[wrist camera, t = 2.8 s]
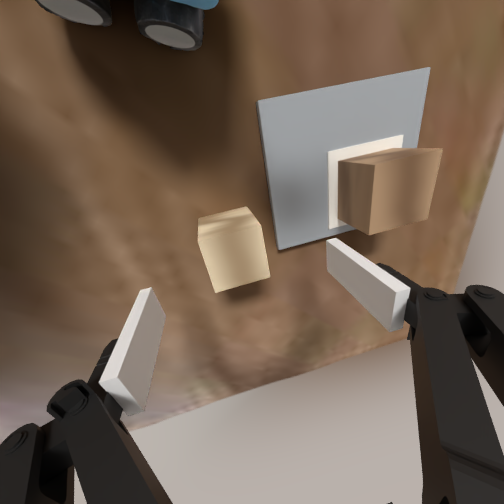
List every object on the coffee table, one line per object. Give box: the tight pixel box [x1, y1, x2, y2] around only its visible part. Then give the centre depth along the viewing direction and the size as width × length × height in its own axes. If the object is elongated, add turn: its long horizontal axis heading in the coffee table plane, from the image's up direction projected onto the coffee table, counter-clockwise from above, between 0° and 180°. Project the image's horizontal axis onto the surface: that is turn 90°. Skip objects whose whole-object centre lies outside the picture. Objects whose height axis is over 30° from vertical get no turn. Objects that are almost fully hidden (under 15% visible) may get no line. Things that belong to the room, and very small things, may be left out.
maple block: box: [198, 206, 270, 293], centre depth 20 cm, size 5×5×6 cm
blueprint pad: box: [256, 67, 430, 250], centre depth 22 cm, size 16×14×1 cm
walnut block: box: [337, 148, 443, 235], centre depth 20 cm, size 6×6×5 cm
